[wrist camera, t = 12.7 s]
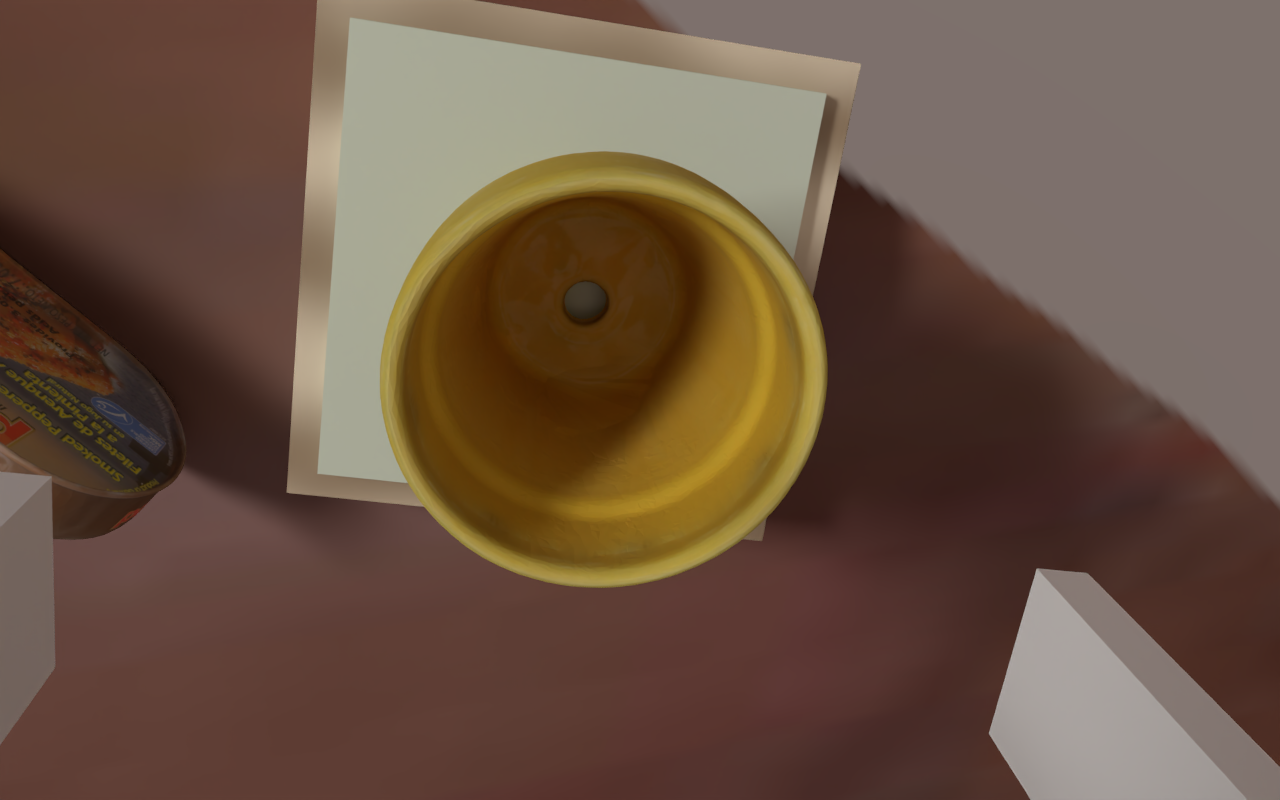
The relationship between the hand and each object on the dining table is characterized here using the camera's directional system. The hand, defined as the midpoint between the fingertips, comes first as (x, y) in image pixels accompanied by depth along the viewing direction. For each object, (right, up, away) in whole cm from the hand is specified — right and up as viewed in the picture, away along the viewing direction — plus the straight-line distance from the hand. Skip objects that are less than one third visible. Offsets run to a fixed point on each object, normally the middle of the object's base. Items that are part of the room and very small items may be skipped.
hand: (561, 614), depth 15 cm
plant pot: (-1, +6, +20) cm, 21 cm away
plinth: (-2, +8, +24) cm, 25 cm away
